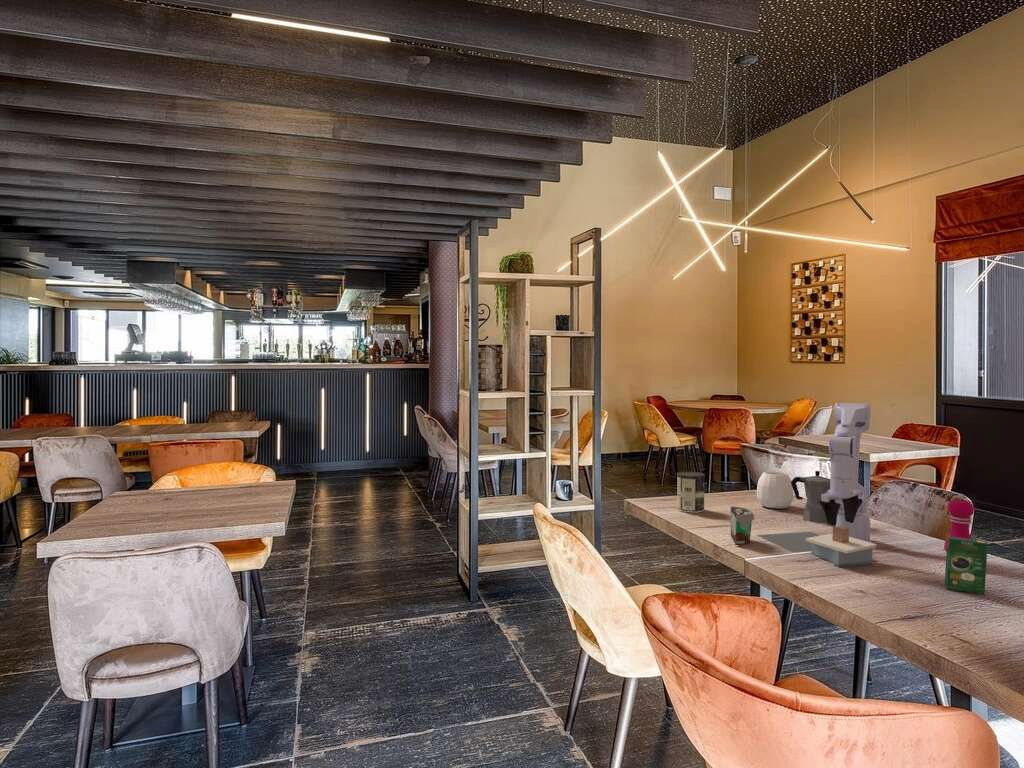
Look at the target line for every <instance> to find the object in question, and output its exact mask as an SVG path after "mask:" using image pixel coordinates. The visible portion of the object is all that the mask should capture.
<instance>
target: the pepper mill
mask: <svg viewBox="0 0 1024 768" xmlns="http://www.w3.org/2000/svg"><path fill="white" fill-rule="evenodd" d="M947 511H948V512H949V514H950V515H949V521H950V522H951V523H950V525H951V527H950V531H949V534H948V536H951V537H958V538H966V539H972V536H971V532H970V525H971V524H972V520H973V519H972V517H971V516H972V515H974V513H975V507H974V505H973V504H972V503H971V502H970V501H968V500H967V499H966V496H965V494H963V493H959V494H957V496H956V498H955V499H952V500H950V501H949V502H948V504H947ZM948 536H947V538H945V541H944V544H943V549H944V551H945V552H946V553H947V540H948Z"/></svg>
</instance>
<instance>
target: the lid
mask: <svg viewBox="0 0 1024 768" xmlns="http://www.w3.org/2000/svg"><path fill="white" fill-rule="evenodd" d="M819 535H820V534H819ZM806 541H807V542H811V543H814V544H817V545H821V546H824V547H827V548H831V549H834V550H837V551H840V552H844V553H852V552H856V551H861V550H865V549H870V548H872V549H875V548H877V547H878V546H877V545H878V544H877V543H875V542H874V543H873V542H867V541H863V540H859V539H856V538H852V537H849V528H847V527H843V526H832V533H831V532H830V533H826V534H822V535H820V536H815V537H810V538H806Z"/></svg>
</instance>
